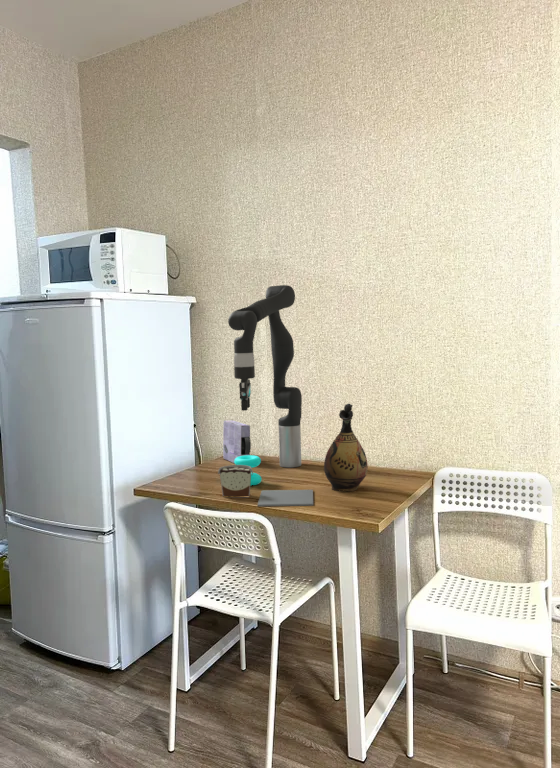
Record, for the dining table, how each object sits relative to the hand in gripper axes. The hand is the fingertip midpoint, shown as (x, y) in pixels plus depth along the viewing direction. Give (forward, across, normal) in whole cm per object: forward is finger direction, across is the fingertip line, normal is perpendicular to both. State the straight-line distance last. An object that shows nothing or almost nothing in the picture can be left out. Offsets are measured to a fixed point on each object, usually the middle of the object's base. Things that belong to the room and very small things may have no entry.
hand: (245, 409), depth 225 cm
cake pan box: (+28, +39, +9) cm, 49 cm away
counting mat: (+28, -22, -15) cm, 39 cm away
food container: (+28, -16, +2) cm, 33 cm away
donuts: (+28, 0, 0) cm, 28 cm away
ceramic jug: (+28, -9, -36) cm, 47 cm away
